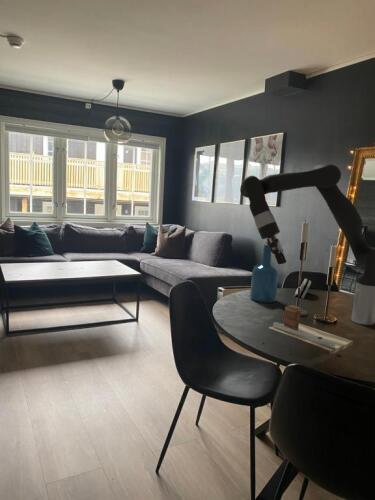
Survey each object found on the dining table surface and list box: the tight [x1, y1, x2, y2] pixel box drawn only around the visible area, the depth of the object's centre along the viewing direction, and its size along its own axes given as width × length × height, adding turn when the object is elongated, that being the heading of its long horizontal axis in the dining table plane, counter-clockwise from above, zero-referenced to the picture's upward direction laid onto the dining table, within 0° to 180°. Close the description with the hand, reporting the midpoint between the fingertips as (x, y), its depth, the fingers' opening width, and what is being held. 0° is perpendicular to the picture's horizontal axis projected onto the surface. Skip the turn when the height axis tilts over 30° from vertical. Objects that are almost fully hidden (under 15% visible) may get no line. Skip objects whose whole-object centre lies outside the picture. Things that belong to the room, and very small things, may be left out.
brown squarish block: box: [283, 304, 302, 330], centre depth 147 cm, size 4×4×9 cm
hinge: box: [293, 278, 312, 299], centre depth 211 cm, size 17×5×10 cm, turn 159°
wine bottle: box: [249, 240, 279, 304], centre depth 193 cm, size 14×13×30 cm
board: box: [268, 322, 354, 356], centre depth 144 cm, size 16×26×2 cm, turn 41°
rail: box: [272, 321, 335, 349], centre depth 140 cm, size 2×25×2 cm, turn 41°
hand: (282, 263), depth 147 cm, fingers open, 8 cm apart
